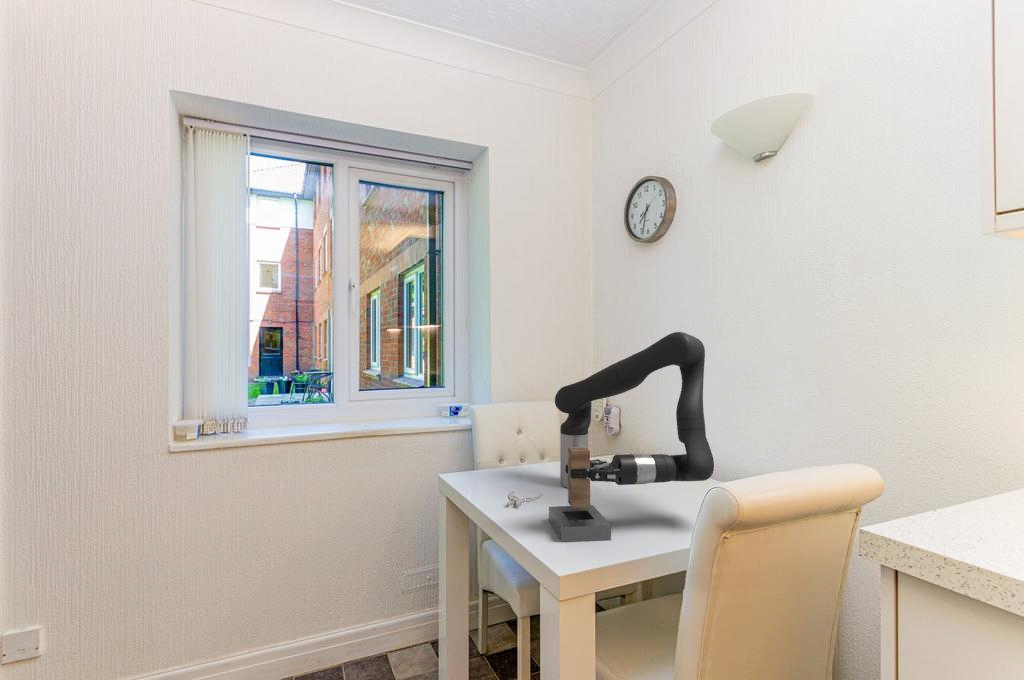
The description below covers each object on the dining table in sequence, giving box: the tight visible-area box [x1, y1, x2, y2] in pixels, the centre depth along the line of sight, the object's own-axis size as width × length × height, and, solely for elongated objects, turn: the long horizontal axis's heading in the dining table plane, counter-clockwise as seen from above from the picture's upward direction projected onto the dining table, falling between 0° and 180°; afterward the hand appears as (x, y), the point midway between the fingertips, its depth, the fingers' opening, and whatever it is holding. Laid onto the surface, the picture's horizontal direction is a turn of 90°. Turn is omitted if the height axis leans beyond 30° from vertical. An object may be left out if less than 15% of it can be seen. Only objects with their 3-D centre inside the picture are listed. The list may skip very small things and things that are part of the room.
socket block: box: [548, 504, 612, 543], centre depth 122 cm, size 15×12×4 cm
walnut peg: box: [567, 447, 591, 508], centre depth 122 cm, size 4×4×14 cm
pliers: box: [506, 490, 542, 509], centre depth 145 cm, size 10×2×15 cm
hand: (568, 471), depth 122 cm, fingers closed on walnut peg, 4 cm apart
